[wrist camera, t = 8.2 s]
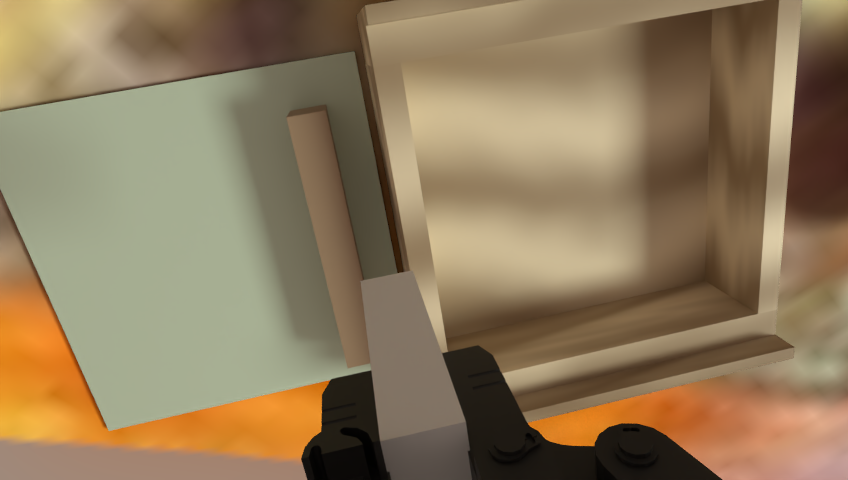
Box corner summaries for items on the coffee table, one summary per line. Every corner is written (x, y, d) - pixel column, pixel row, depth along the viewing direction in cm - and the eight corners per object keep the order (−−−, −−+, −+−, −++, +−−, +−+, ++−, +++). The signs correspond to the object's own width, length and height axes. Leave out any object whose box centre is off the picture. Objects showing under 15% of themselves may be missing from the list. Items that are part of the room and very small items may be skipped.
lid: (-21, 115, 23) (-74, 125, 20) (353, 50, 25) (357, 51, 22) (114, 420, 29) (88, 465, 26) (412, 352, 30) (421, 387, 27)
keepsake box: (356, 15, 24) (364, 5, 18) (719, -44, 25) (834, -71, 20) (421, 366, 30) (443, 442, 24) (708, 301, 32) (793, 358, 26)
